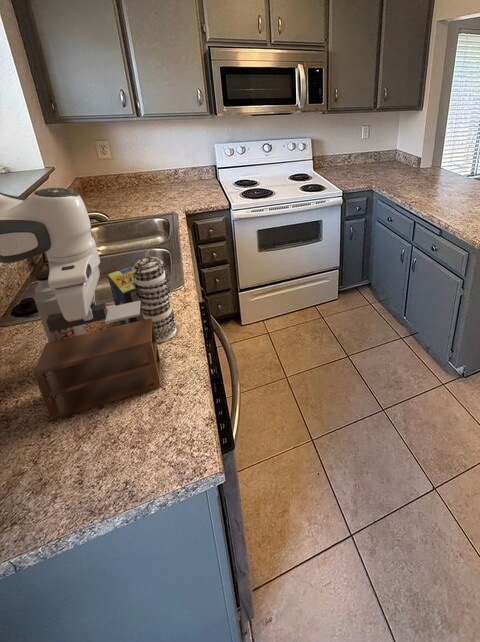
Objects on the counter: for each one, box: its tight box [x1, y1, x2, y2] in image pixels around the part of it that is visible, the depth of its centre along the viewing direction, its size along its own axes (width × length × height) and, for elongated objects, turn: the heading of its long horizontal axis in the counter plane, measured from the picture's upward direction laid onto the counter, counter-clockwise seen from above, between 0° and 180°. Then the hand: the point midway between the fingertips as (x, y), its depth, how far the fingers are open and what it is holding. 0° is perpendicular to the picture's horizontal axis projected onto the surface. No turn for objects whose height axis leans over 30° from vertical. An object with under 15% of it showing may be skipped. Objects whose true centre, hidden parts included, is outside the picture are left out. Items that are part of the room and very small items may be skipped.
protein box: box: [107, 265, 143, 325], centre depth 114 cm, size 10×15×16 cm
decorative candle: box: [132, 256, 177, 344], centre depth 105 cm, size 9×9×25 cm
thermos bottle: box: [33, 268, 87, 343], centre depth 93 cm, size 8×8×28 cm
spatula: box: [46, 301, 141, 332], centre depth 83 cm, size 18×6×3 cm, turn 114°
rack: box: [33, 318, 162, 421], centre depth 87 cm, size 23×10×14 cm, turn 114°
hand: (90, 313), depth 82 cm, fingers closed on spatula, 2 cm apart
